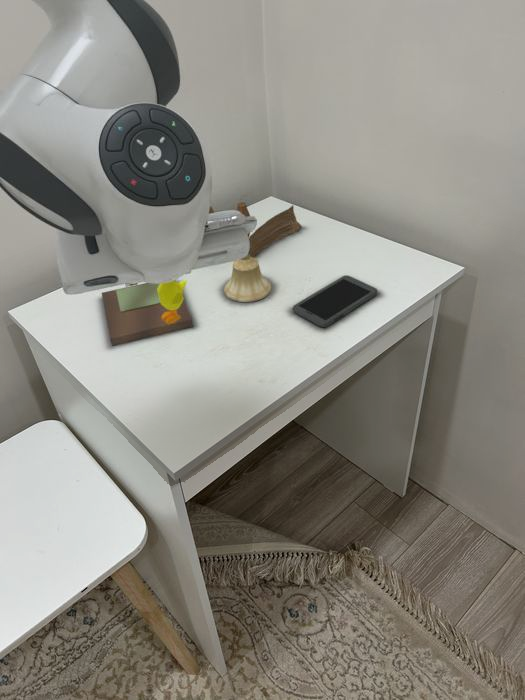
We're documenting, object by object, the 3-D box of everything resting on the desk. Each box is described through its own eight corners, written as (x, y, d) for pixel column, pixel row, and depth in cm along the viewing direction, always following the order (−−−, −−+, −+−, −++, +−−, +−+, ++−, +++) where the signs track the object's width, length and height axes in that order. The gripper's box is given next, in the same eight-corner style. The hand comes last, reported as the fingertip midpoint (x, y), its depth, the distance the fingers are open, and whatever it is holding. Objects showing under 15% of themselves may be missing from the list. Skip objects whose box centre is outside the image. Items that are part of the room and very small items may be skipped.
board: (112, 345, 85) (109, 337, 84) (103, 299, 96) (101, 291, 95) (192, 326, 88) (191, 318, 87) (175, 283, 99) (174, 276, 98)
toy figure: (154, 337, 66) (132, 248, 58) (139, 324, 68) (116, 237, 60) (200, 313, 69) (184, 227, 61) (184, 302, 71) (168, 217, 63)
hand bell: (248, 272, 100) (241, 188, 90) (281, 287, 96) (277, 202, 85) (214, 291, 96) (203, 205, 86) (246, 308, 91) (238, 220, 81)
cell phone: (379, 293, 92) (379, 289, 92) (323, 329, 85) (323, 325, 85) (346, 277, 97) (346, 273, 96) (290, 310, 90) (290, 307, 89)
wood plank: (255, 261, 103) (253, 237, 100) (247, 258, 104) (245, 234, 101) (301, 229, 112) (300, 206, 109) (292, 226, 113) (292, 204, 110)
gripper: (252, 183, 54) (233, 232, 67) (37, 222, 49) (63, 265, 63) (268, 244, 53) (246, 280, 67) (53, 288, 49) (76, 317, 62)
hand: (156, 273), depth 65 cm, fingers closed on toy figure, 5 cm apart
